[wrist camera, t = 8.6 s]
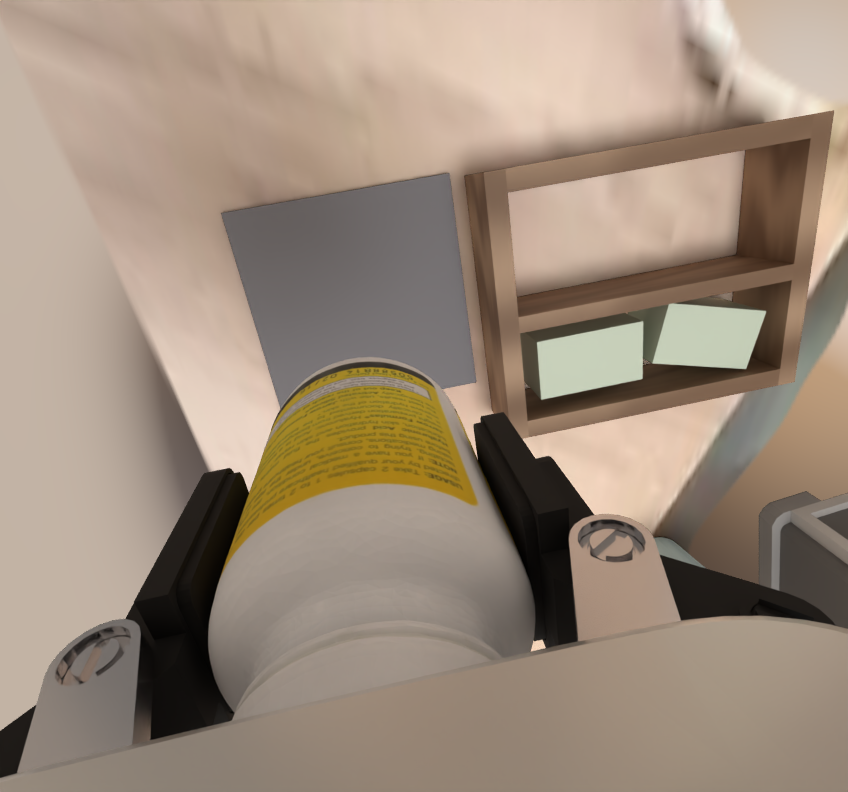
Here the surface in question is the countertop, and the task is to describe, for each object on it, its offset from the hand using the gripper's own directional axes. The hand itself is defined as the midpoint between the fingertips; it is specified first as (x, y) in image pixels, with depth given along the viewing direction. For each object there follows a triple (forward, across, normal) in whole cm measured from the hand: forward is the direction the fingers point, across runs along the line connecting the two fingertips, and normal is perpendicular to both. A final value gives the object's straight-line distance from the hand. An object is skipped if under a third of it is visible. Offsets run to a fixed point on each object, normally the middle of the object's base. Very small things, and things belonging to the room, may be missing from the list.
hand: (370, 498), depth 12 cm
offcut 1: (+23, -14, +6) cm, 28 cm away
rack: (+23, -18, +2) cm, 29 cm away
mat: (+23, 0, 0) cm, 23 cm away
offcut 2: (+23, -22, +6) cm, 32 cm away
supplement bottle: (+3, 0, 0) cm, 3 cm away
